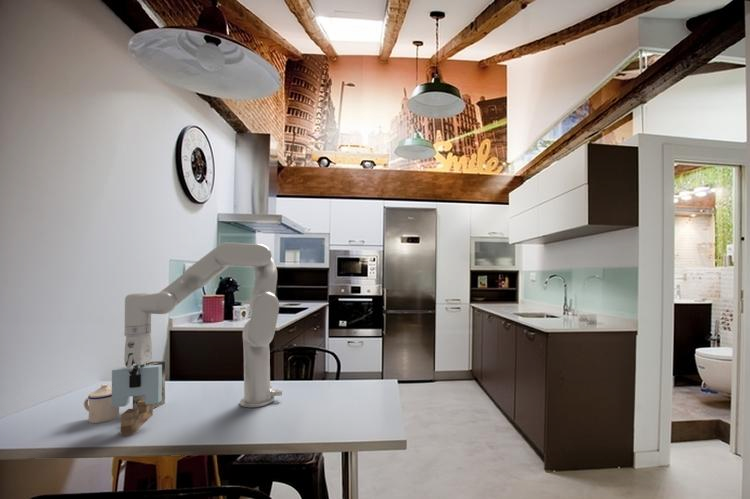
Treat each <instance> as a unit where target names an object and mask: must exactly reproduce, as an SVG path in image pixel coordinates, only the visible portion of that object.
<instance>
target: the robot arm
mask: <svg viewBox="0 0 750 499" xmlns="http://www.w3.org/2000/svg"><path fill="white" fill-rule="evenodd" d="M230 266H232V267H251V268H252V269H253V271H254V282H253V286H252V287H253V288H252V292H251V296H250V300H249V307H250V310H251V315H250V319H249V320H248V321H247V322H246V323H245V324H244V326H243V327H242V328H243V329H242V343H243V345H242V346H243V347H242V348H243V389H244V390H243V394H244V396H243V397H242V398H241V399H240V401H239V405H240V406H242V407H243V408H259V407H264V406H267V405H270V404H272V403H273V402H274V401H275V397H276V396H277V397H278V396H283V390H281V389H279V388H277V389H273V388H272V385H271V365H270V363H271V362H270V359H271V357H270V356H271V355H270V353H271V352H270V344H271V342H272V341H273V339H274V336H275V333H276V329H277V328H276V327H277V322H278V316H279V313H280V312H279V311H280V302H279V299H278V296H276V290H277V283H278V282H277V281H278V269H277V266H276V263H275V261H274V259H273V258H272V251H271V250H270V248H269V246H266V245H265V244H261V243H243V242H242V243H241V242H232V241H231V242H229V241H227V242H221V243H220V244H218V245H217V246H216V247H215V248H213V249H212V250H210V251H209V252H208V253H207V254H205V255H204V256H203V257H201V258H200V259H199V260H198V261H196V262H195V263H193V264H192V265H191V266H189V268H187V269H186V270H185V271H184V272H183V273H182V274H181V275H180V276H179V277H177V278H176V279H175V280H174V281H172V282H171V283H170V284H169V285H167V286H166V287H165V288H163V289H162V290H161V291H160V292H157V293H152V294H150V293H145V292H144V293H143V292H142V293H130V294H127V295H126V296H125V298H124V337H125V343H124V344H125V345H124V367H127V369H126V370H127V371H128V372H129V387H130V388H135V387H140V386H141V374H139V373H140V366H146V364H147V363H149V362H151V361H152V359H153V348H152V346H153V344H152V335H151V334H152V314H153V315H166V314H170V313H171V312H172V311H174V309H175V308H176V306H178V305H179V304H180V303H181V302H183V300H185V299H187V298H188V297H190V295H192V294H193V293H194V292H196V291H198V290H200V289H203V287H205V286H206V285H208V284H209V283H210V282H212V281H213V280H214V279H215V278H217V277H218V276H219V275H220V274H221V273H223V272H224V271H225V270H227V269H229V267H230ZM136 367H137V368H136ZM135 368H136V369H135Z"/></svg>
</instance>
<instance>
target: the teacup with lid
mask: <svg viewBox="0 0 750 499" xmlns="http://www.w3.org/2000/svg"><path fill="white" fill-rule="evenodd" d="M108 384H109V383H105V384H101V386H100V388H97V389H96V390H94V391H92V392H91V393H89V394H88V396H87V398H85V400H84V402H83V407H84V409H85V410H86V411H87V412H88V422H89V423H91V424H100V423H101V424H102V423H105V422H108V421H112V420H114V419H117V418H118V417H119V415H120V407H112V386H109V385H108Z"/></svg>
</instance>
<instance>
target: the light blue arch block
mask: <svg viewBox="0 0 750 499" xmlns="http://www.w3.org/2000/svg"><path fill="white" fill-rule="evenodd" d="M136 368H137V367H136ZM136 368H135V369H136ZM126 369H127V367H126V366H123V367H115V368H114V369H112V370H111V387H112V407H119V408H120V407H126V406H127V405H129V404H130V402H131V401H130V397H133V396H142V395H145V404H156V403H159V402H160V401H161V400H162V365H149V366H140V373H139V374H141V386H140V387H135V388H130V387H129V372H128V371H127V370H126Z"/></svg>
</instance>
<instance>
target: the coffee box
mask: <svg viewBox="0 0 750 499" xmlns="http://www.w3.org/2000/svg"><path fill="white" fill-rule="evenodd" d="M149 365H162V400H161V401H160V402H159V403H156V404H153V409H155V407H156V408H158V407H160V406H162V405H164V404H165V403H166V361H162V360H161V361H149V362H147V364H146V366H149ZM143 397H145V395H142V396H132V409H133V408H137V402H138V401H139V400H141V399H142V398H143ZM163 403H164V404H163ZM161 404H162V405H161ZM159 405H160V406H159ZM157 406H158V407H157Z"/></svg>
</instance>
